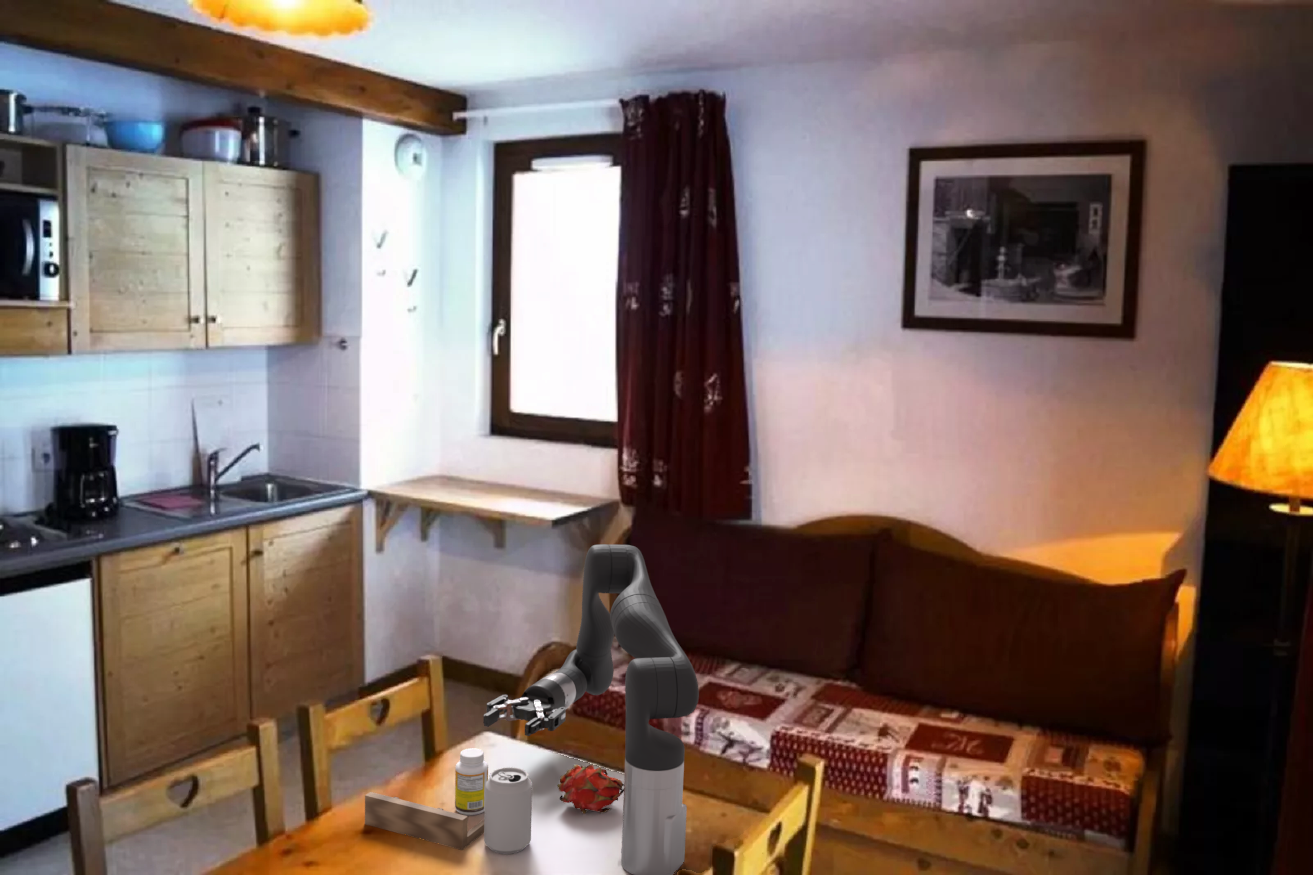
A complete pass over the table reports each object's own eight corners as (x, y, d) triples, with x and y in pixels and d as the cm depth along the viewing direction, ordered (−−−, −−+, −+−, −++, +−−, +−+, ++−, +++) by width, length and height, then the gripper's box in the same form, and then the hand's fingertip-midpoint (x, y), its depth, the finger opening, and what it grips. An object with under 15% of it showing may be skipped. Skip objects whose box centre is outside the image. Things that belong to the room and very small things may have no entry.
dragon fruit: (551, 814, 192) (618, 825, 193) (554, 805, 185) (624, 816, 185) (559, 765, 196) (625, 776, 197) (562, 754, 189) (631, 765, 190)
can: (522, 859, 173) (523, 786, 172) (476, 853, 174) (478, 780, 173) (536, 837, 180) (538, 767, 179) (493, 831, 182) (494, 761, 180)
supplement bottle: (468, 799, 193) (469, 743, 192) (493, 807, 190) (495, 750, 189) (447, 811, 188) (448, 754, 187) (474, 819, 186) (475, 761, 184)
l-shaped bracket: (488, 829, 182) (489, 800, 182) (462, 850, 175) (462, 820, 174) (394, 805, 190) (394, 777, 189) (364, 824, 182) (364, 795, 182)
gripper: (518, 672, 216) (472, 699, 201) (582, 685, 210) (541, 713, 195) (517, 708, 217) (471, 738, 202) (581, 722, 211) (539, 754, 196)
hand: (505, 726), depth 198 cm, fingers open, 8 cm apart
